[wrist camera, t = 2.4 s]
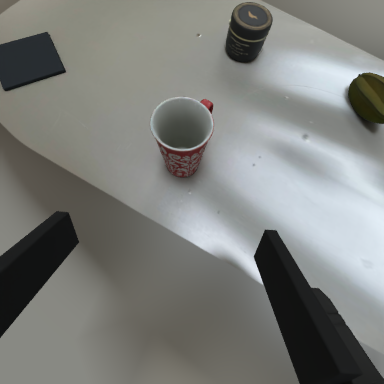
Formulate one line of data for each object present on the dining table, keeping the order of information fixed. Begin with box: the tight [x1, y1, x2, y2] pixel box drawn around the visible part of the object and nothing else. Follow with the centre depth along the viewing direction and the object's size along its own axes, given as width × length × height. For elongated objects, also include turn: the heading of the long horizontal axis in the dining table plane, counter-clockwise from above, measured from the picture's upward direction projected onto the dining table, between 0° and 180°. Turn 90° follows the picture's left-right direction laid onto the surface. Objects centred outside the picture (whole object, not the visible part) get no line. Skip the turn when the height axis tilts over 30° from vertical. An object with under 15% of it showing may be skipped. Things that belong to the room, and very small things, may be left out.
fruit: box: [348, 73, 384, 124], centre depth 40 cm, size 11×12×7 cm
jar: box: [226, 2, 273, 62], centre depth 42 cm, size 10×10×8 cm
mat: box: [0, 32, 66, 91], centre depth 40 cm, size 14×14×1 cm
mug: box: [150, 97, 214, 177], centre depth 30 cm, size 13×9×14 cm
